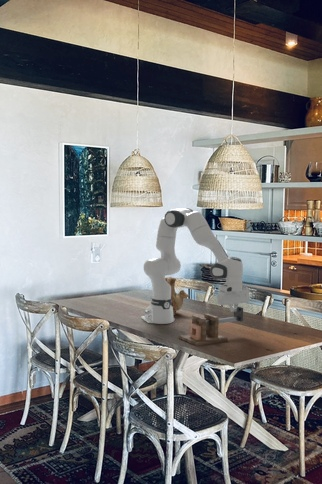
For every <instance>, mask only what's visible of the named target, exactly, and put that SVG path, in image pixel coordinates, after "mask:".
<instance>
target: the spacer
mask: <svg viewBox="0 0 322 484" xmlns="http://www.w3.org/2000/svg"><path fill="white" fill-rule="evenodd" d="M195 329H196V334H195ZM189 334H190V337H192V338H194V339H196V340H201V326H199V325H196V324H194V323H193V324H192V323H190V324H189Z"/></svg>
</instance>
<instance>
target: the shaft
mask: <svg viewBox="0 0 322 484" xmlns="http://www.w3.org/2000/svg"><path fill="white" fill-rule="evenodd" d="M232 322H244V307H243V306H239V305H238V307H237V309H236V312H233V316H229V317H222V318H219V324H223V323H232ZM206 325H211V320H206Z"/></svg>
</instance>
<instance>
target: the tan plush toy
mask: <svg viewBox="0 0 322 484" xmlns="http://www.w3.org/2000/svg"><path fill="white" fill-rule="evenodd" d="M165 280H166V282H167V283H169V284H170V285H171V299H172V304H171V306H172V307H173V316H176V315H177V311H179V310H181V308H182V307H183V304H184V299H187V298H189V297H190V294H188V293H186V292H185V290H184V289H181V290H179V292H178V293H177V292H176V289H175V285H176V280H177V278H175V277H171V276H167V277H166V276H165Z"/></svg>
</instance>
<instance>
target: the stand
mask: <svg viewBox="0 0 322 484" xmlns="http://www.w3.org/2000/svg"><path fill="white" fill-rule="evenodd" d="M203 315H204V317H202V316H199V315H197V314H193V315H191V324H193V323H194V324H196V325H199V326H201V340H196V339H194V338H192V337H190V333H188V334H183V335H182V334H181V335H178V336H179V337H178V338H179V339H180V340H181V339H182V341H184V342H186V343H189V344H191V345H193V346H204V345H209V344H210V345H212V344H217V343H223V342H228V340H229V339H228V337H226V336H223V335H219V324H220V323H219V319H220V318H219V316H215V315H213V314H210V313H204V314H203ZM206 320H211V325H206ZM195 334H196V329H195Z"/></svg>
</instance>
